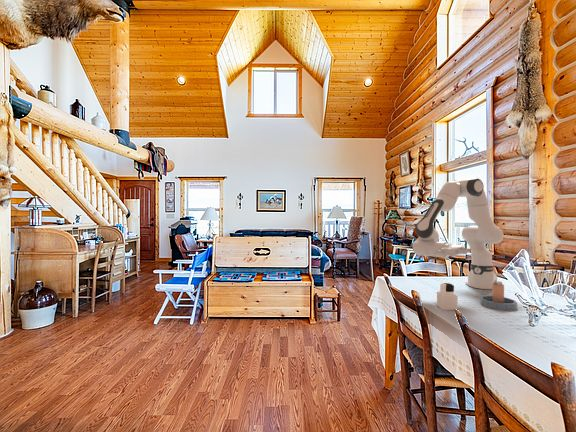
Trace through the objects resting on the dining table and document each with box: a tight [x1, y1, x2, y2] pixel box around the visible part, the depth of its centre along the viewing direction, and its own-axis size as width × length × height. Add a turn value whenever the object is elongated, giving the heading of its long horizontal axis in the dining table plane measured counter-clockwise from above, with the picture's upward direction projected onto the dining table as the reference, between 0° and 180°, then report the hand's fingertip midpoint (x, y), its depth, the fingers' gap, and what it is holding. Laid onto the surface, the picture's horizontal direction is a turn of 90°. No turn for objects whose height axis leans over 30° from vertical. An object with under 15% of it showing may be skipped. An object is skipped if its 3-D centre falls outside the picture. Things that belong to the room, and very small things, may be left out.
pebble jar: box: [491, 280, 505, 303], centre depth 154 cm, size 5×5×12 cm
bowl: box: [479, 295, 518, 311], centre depth 154 cm, size 15×15×3 cm
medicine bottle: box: [436, 282, 459, 311], centre depth 151 cm, size 7×7×12 cm
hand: (469, 251), depth 165 cm, fingers open, 8 cm apart
